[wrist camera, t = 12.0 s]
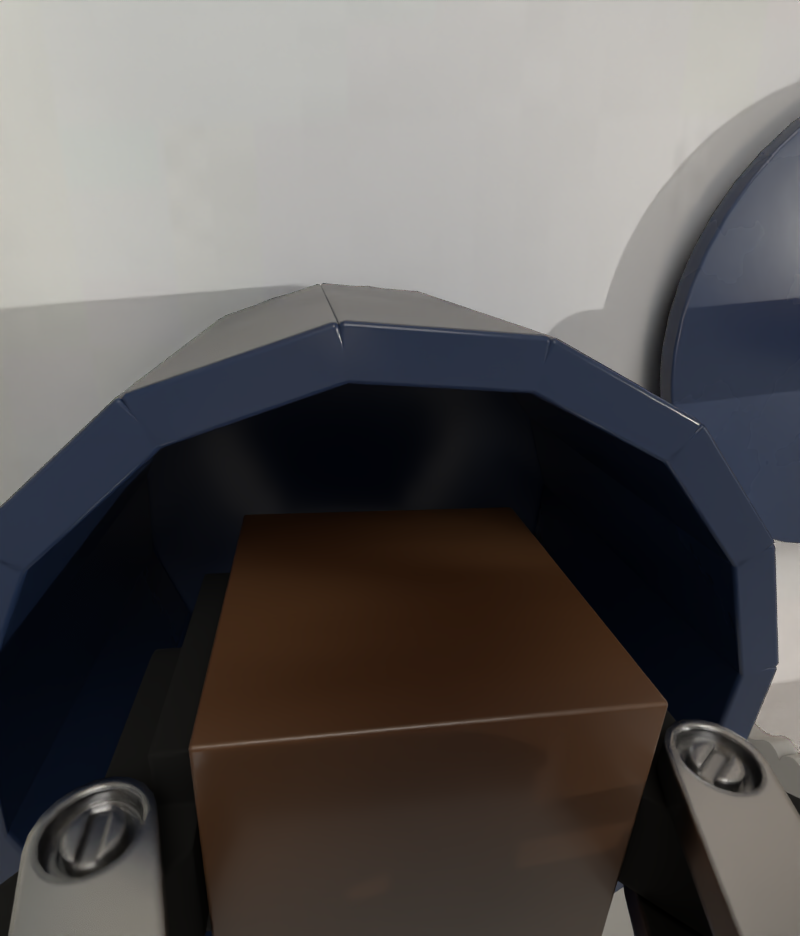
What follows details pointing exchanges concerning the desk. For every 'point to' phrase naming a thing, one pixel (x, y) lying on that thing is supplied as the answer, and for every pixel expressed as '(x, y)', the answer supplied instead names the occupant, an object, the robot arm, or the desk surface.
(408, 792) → the block
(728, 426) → the tin lid
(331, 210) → the desk surface
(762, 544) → the tin
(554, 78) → the desk surface
